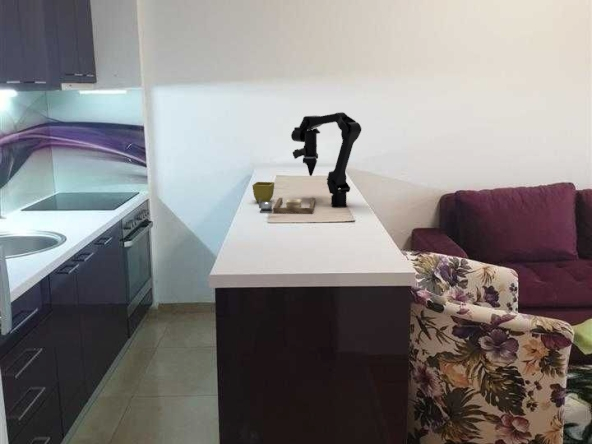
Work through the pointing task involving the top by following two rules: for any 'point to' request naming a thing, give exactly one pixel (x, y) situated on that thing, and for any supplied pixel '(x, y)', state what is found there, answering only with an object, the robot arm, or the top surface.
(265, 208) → the winch drum
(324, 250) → the top surface
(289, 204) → the box
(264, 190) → the flower pot
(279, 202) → the bay
